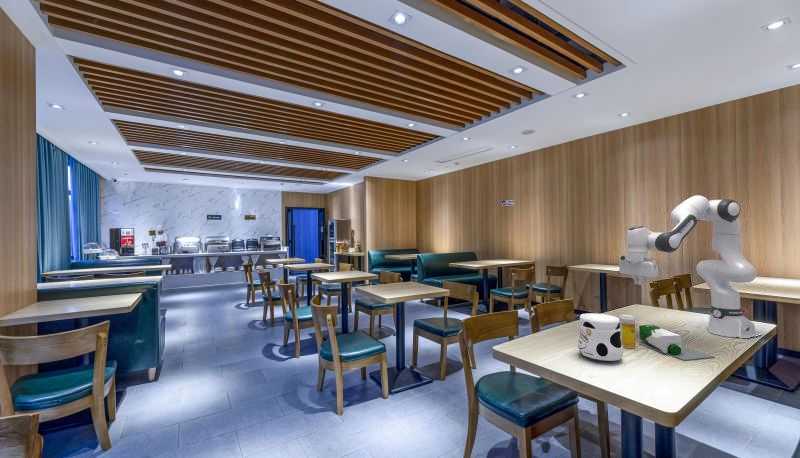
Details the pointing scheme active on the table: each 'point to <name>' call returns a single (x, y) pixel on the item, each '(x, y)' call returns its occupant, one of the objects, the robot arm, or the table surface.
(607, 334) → the milk container
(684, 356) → the mat
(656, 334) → the white carton
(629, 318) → the beer can
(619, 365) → the table surface
